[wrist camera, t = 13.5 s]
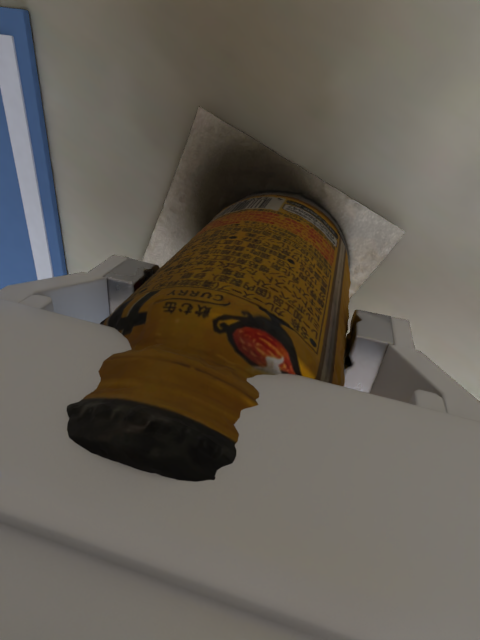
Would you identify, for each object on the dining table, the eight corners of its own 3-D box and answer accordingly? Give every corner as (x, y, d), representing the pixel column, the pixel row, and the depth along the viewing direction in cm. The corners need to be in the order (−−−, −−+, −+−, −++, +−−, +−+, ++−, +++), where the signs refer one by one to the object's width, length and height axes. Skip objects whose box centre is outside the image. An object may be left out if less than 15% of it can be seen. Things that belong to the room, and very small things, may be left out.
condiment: (299, 359, 18) (225, 692, 8) (141, 266, 18) (-134, 496, 8) (405, 229, 14) (511, 581, 4) (202, 105, 14) (-211, 166, 4)
